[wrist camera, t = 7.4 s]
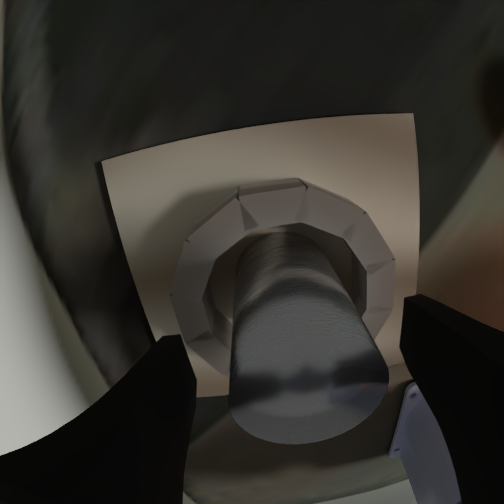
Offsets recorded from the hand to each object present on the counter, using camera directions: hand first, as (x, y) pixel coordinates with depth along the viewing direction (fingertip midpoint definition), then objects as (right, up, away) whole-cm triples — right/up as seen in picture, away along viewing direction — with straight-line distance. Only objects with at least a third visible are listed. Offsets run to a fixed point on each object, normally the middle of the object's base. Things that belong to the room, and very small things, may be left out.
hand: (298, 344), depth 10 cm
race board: (0, +2, +5) cm, 5 cm away
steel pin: (0, +2, +4) cm, 4 cm away
